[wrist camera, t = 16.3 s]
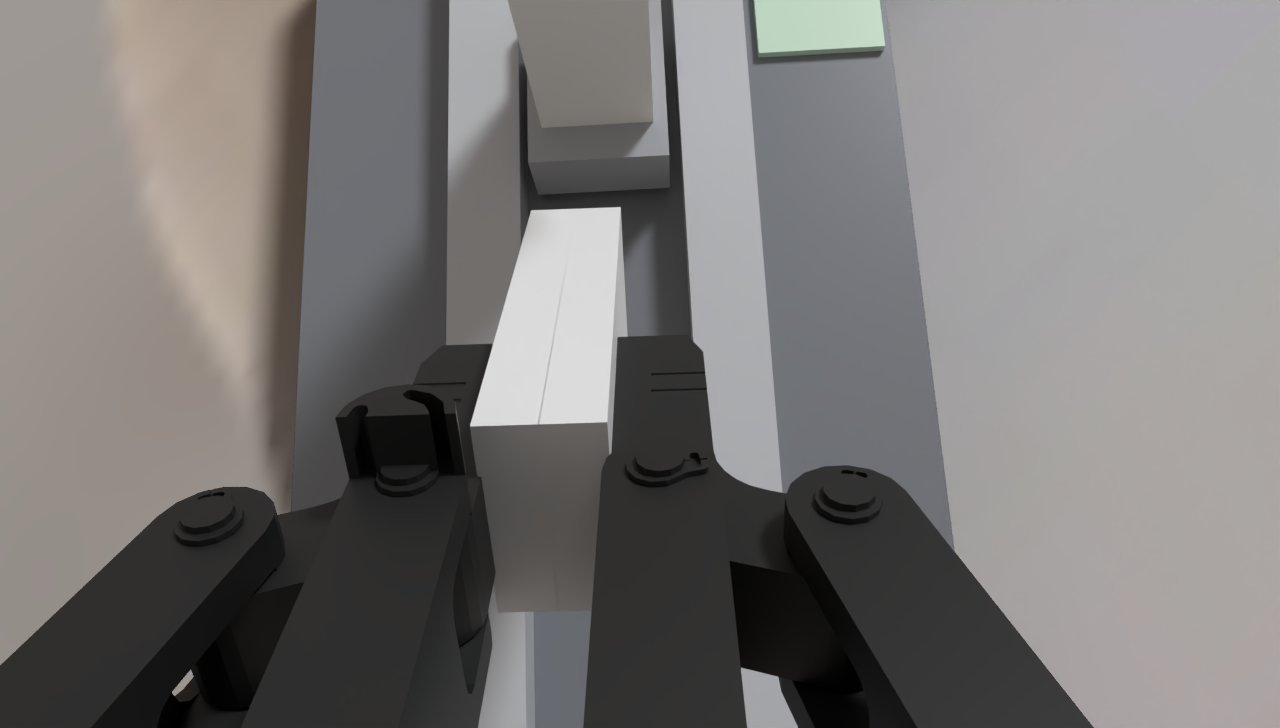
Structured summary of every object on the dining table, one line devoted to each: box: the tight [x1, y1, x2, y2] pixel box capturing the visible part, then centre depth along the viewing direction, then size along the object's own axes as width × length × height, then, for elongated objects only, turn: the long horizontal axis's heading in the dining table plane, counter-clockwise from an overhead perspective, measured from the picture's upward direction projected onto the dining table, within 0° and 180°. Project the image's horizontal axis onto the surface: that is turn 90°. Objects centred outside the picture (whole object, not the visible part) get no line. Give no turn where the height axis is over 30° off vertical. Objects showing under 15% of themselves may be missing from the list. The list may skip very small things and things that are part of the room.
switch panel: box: [291, 0, 954, 728], centre depth 23 cm, size 26×14×4 cm, turn 3°
